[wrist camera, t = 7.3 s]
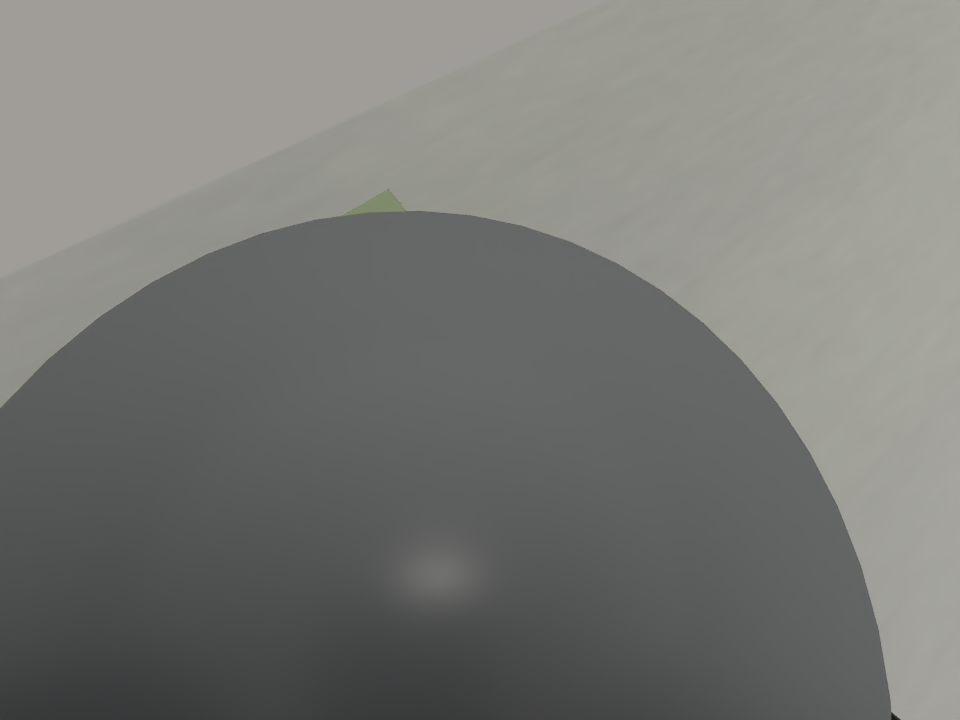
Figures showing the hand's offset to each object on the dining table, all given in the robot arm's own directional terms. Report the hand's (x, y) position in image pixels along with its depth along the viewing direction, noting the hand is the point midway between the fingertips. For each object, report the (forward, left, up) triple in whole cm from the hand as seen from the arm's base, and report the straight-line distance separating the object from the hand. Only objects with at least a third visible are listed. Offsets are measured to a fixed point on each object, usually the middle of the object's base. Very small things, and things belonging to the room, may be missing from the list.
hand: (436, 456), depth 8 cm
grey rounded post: (-1, +1, -7) cm, 7 cm away
